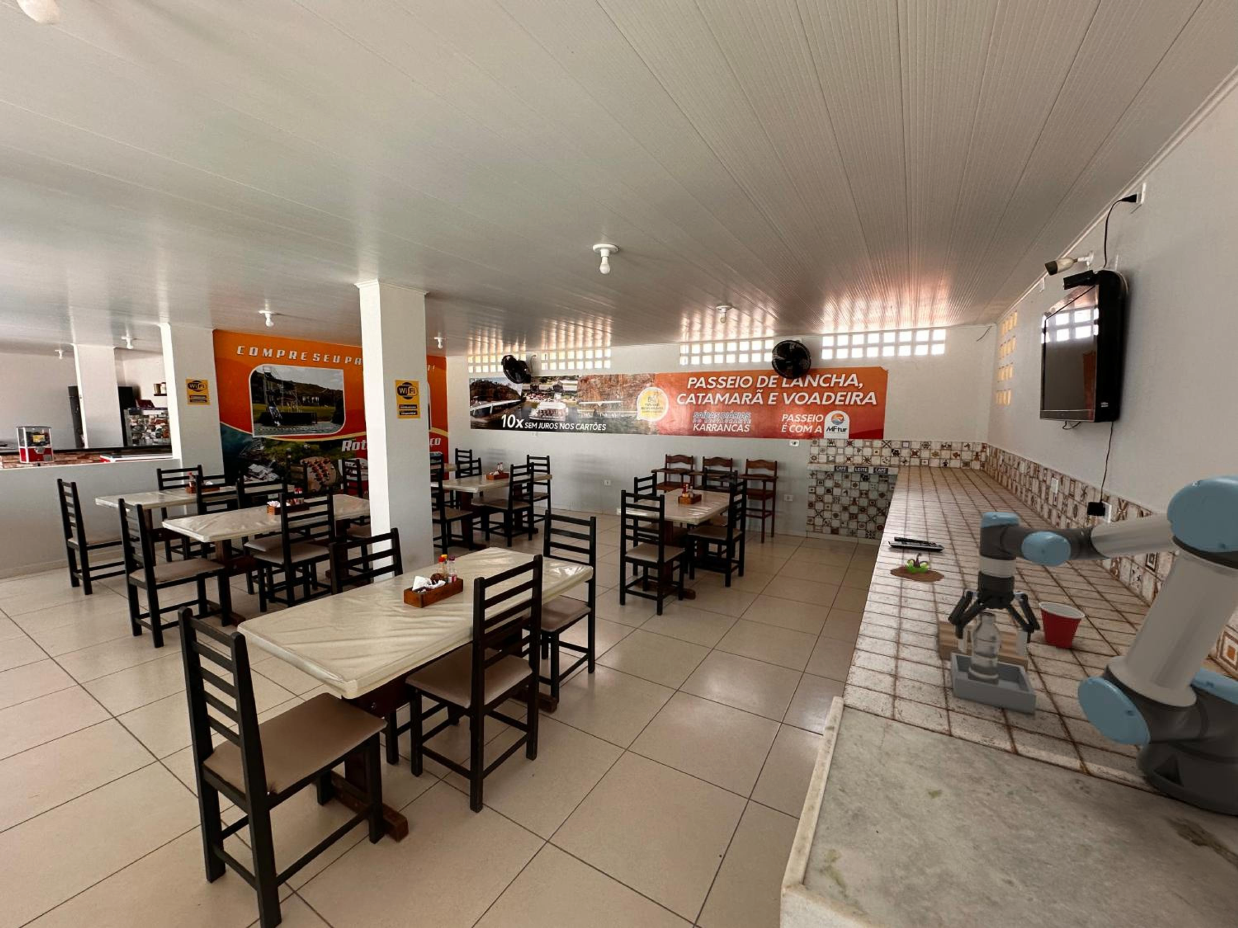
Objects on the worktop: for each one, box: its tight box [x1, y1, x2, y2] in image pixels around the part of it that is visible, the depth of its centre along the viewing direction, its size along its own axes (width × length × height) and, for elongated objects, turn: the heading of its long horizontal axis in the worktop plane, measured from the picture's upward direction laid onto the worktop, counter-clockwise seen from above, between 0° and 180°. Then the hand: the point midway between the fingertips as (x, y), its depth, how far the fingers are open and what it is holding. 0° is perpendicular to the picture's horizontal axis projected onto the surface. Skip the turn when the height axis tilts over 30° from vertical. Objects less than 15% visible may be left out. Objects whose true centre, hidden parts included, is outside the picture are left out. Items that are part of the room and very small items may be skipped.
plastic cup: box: [1038, 601, 1086, 649], centre depth 154 cm, size 11×11×12 cm
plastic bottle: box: [967, 610, 1002, 685], centre depth 129 cm, size 6×7×20 cm
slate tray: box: [949, 652, 1037, 716], centre depth 129 cm, size 16×16×5 cm
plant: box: [889, 552, 946, 584], centre depth 220 cm, size 20×20×11 cm
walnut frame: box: [937, 619, 1029, 674], centre depth 150 cm, size 20×20×4 cm
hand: (991, 652), depth 129 cm, fingers open, 13 cm apart
